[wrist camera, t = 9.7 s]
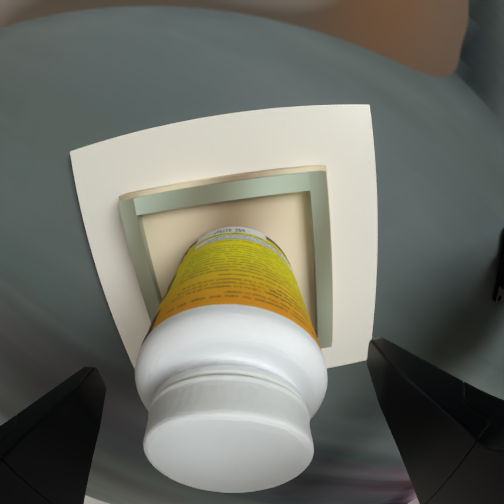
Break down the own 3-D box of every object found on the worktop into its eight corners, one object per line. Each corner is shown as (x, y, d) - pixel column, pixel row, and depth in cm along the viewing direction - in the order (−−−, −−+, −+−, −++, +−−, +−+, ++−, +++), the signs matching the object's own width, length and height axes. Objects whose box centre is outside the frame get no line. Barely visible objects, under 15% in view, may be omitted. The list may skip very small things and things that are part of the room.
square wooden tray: (320, 164, 14) (329, 166, 13) (328, 333, 18) (334, 348, 16) (125, 193, 14) (113, 198, 13) (169, 351, 18) (163, 367, 16)
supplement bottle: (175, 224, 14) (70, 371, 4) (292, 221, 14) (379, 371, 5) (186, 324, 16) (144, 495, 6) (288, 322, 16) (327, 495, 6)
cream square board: (365, 105, 14) (369, 104, 13) (366, 355, 19) (369, 359, 19) (74, 151, 14) (69, 151, 13) (143, 380, 19) (141, 385, 19)
